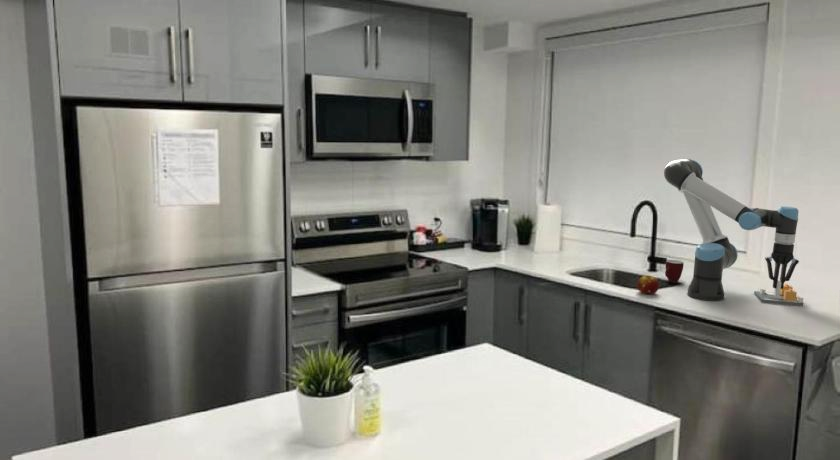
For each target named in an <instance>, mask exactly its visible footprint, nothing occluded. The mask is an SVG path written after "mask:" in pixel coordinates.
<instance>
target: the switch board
mask: <svg viewBox="0 0 840 460" xmlns="http://www.w3.org/2000/svg"><path fill="white" fill-rule="evenodd" d="M753 295H754V296H755V297H756V299H757V300H759V302H760V303H761V304H770V305H782V306H795V307H804V305H805V304H804V303H805V302H804V297H803V296H802V295H796V301H785V300H784V299H783V297H784V295H781V294H780V297H777V296H775V295H774V292H768V291H766V289H765V287H760V288H759V291H758V290H755V291H754V293H753Z"/></svg>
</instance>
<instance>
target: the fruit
mask: <svg viewBox="0 0 840 460" xmlns="http://www.w3.org/2000/svg"><path fill="white" fill-rule="evenodd" d="M636 286H637V290H638V291H639V292H640V293H642V294H645V295H655V294H656V293H657V292H658V291H659V288H660V283H659V280H658V278H656V277H655V276H652V275H650V274H649V275H642V276H641V277H640V278H639V279H638V281H637V284H636Z"/></svg>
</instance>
